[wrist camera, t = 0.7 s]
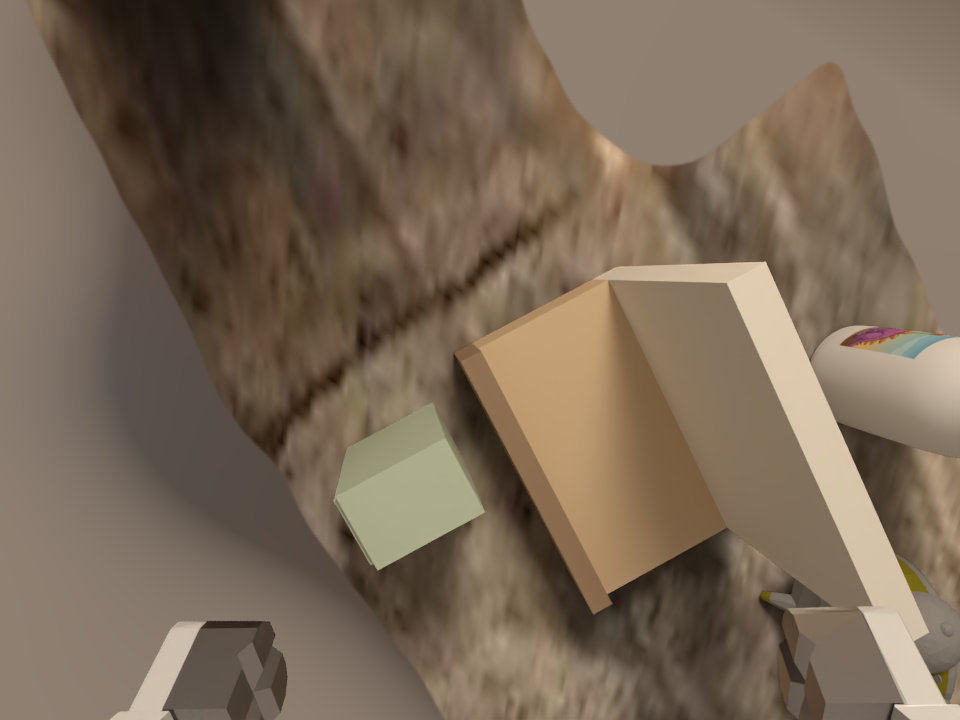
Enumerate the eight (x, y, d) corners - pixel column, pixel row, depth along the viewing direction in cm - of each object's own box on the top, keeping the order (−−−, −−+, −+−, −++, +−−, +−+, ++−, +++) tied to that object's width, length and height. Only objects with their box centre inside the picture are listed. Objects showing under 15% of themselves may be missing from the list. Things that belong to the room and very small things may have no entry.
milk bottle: (869, 437, 59) (1113, 520, 39) (787, 400, 57) (994, 466, 38) (912, 348, 58) (1180, 386, 39) (830, 308, 57) (1062, 327, 37)
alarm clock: (833, 659, 61) (976, 784, 46) (753, 663, 60) (873, 791, 45) (843, 520, 59) (995, 602, 44) (762, 522, 58) (889, 606, 44)
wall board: (453, 352, 54) (496, 406, 32) (616, 266, 55) (765, 261, 33) (574, 582, 57) (687, 771, 35) (726, 498, 58) (929, 632, 36)
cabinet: (333, 455, 54) (317, 506, 42) (432, 402, 54) (445, 437, 42) (366, 513, 55) (360, 579, 43) (464, 461, 55) (485, 512, 43)
